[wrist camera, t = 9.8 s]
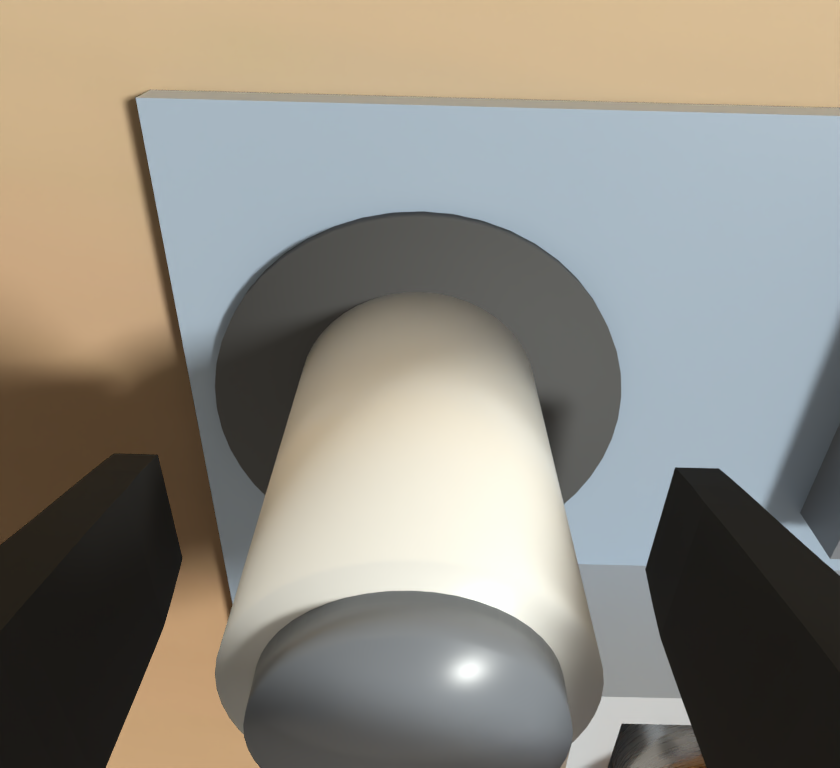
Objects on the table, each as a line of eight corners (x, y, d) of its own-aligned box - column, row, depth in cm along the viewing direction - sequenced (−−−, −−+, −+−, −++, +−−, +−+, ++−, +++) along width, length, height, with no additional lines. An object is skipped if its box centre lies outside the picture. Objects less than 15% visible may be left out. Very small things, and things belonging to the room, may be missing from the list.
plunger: (741, 732, 17) (813, 913, 14) (569, 728, 17) (602, 908, 14) (797, 619, 14) (899, 807, 11) (598, 615, 14) (645, 801, 11)
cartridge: (562, 311, 11) (677, 635, 6) (504, 498, 13) (553, 853, 8) (309, 274, 10) (198, 580, 5) (294, 471, 13) (203, 821, 8)
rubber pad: (584, 547, 14) (586, 558, 14) (244, 539, 14) (240, 550, 14) (655, 217, 10) (661, 224, 10) (189, 205, 10) (183, 212, 10)
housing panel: (1066, 737, 19) (1189, 891, 16) (263, 719, 19) (231, 869, 16) (1655, 129, 10) (2187, 210, 7) (150, 89, 10) (27, 154, 7)
